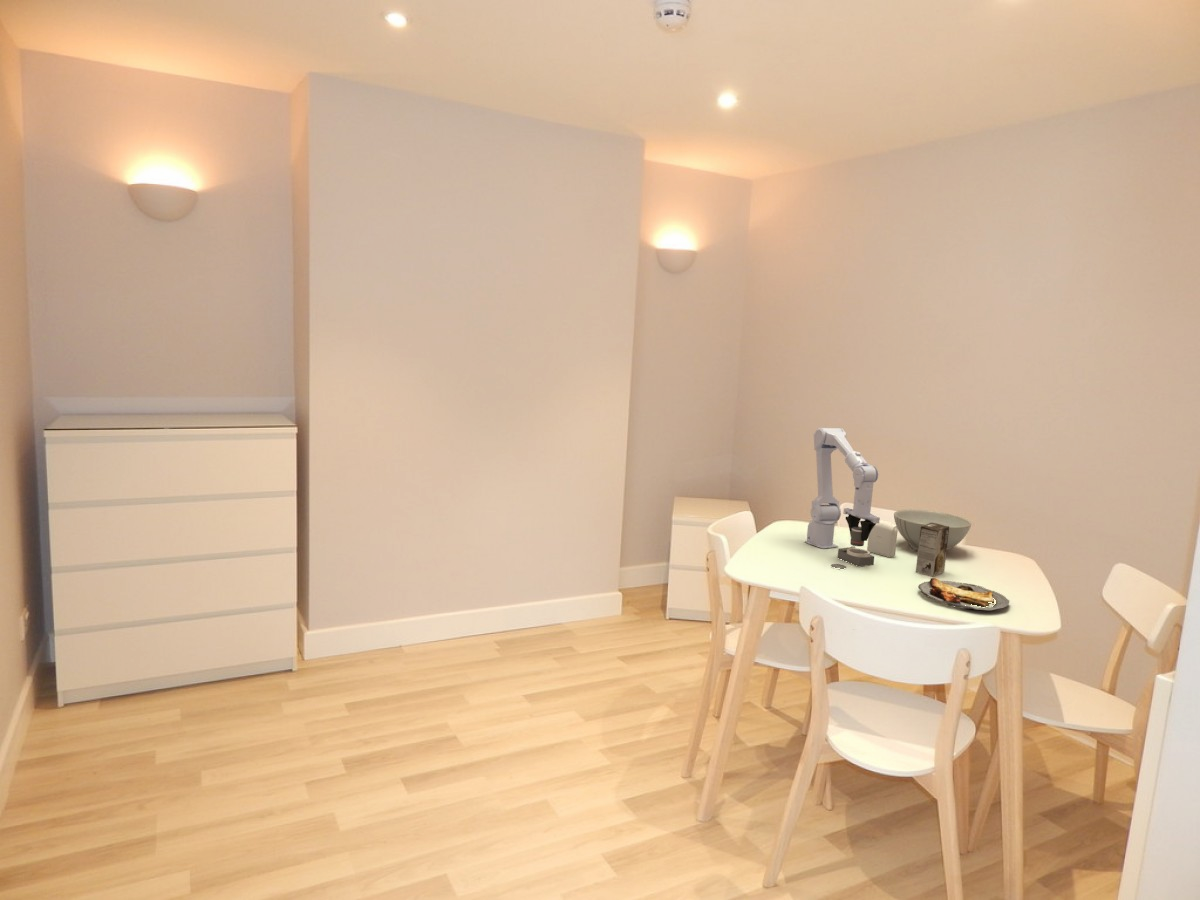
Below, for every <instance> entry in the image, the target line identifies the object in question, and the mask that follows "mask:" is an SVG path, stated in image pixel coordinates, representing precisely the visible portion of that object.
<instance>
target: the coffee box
mask: <svg viewBox="0 0 1200 900" xmlns="http://www.w3.org/2000/svg"><path fill="white" fill-rule="evenodd" d="M948 534H949V526H944V525H941V524H937V523H929V524H926V525H924V526H921V531H920V539H919V548H918V550H917V557H916V565H915V573H917V574H921V575H924V576H928V577H931V578H935V577H936V576H938V575H940V574H942V573H944V572H945V568H946V560H947V559H946V558H947V550H948V549H947V543H948Z"/></svg>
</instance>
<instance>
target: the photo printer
mask: <svg viewBox="0 0 1200 900" xmlns="http://www.w3.org/2000/svg"><path fill="white" fill-rule="evenodd" d="M898 533H899V531H898V528H897V526H896V524H893V522H890V521H888V520H887V521H886V520H882V519H880V521H879V523H876V525H875V526H874V527H873V529H872V530H871V532H870V534H869V537H868V539H867V546H866V547H867V548H866V550H867V551H869V552H870V553H873V554H876V555H880V556H884V557H887V558H894V557H895V556H896V551H897V550H896V549H897V541H898Z"/></svg>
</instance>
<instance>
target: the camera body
mask: <svg viewBox="0 0 1200 900" xmlns="http://www.w3.org/2000/svg"><path fill="white" fill-rule="evenodd" d="M836 558H839V559H838V560H840V559H842V560H841V561H843V560H844V561H843V562H845V561H847V562H846V563H848V562H849V563H848V564H851V563H852V564H851V565H853V564H854V566H856V565H857V566H856V567H858V566H861V567H866V566H865V565H868V566H873V565H874V563H875V556H874V555H871V552H869V551H867V549H863V548H859V547H858V548H857V547H856V546H853V545H850V546H848V547H841V548H838V549H837V557H836Z"/></svg>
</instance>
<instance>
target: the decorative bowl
mask: <svg viewBox="0 0 1200 900" xmlns="http://www.w3.org/2000/svg"><path fill="white" fill-rule="evenodd" d="M893 517H894V522H895V525H896V526H897V528H898V533H899V534H900V535H901V537H902V538H903V539H904V540H905V541H906V542H907V543H908V544H910V548H912V549H913V550H916V551H918V548H919V539H920V531H921V526H924V525H926V524H929V523H937V524H941V525H944V526H949V534H948V543H947V550H949V549H951V548H954V547H955V546H957V545H958V544H960V542H962V541H963V539H964V538H965V537H966V535H967V534H968V533H969V532H970V529H971V526H972V523H971V522H970V521H969V519H966V518H963V517H961V516H958V515H954V514H949V513H946V512H945V513H944V512H940V511H934V510H933V511H932V510H925V509H924V510H923V509H900V510H896V511H894V513H893Z"/></svg>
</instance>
